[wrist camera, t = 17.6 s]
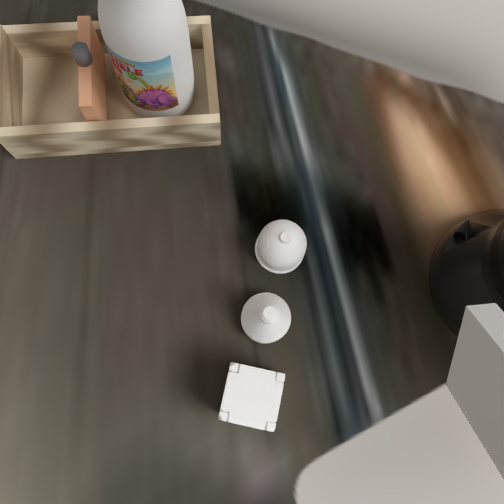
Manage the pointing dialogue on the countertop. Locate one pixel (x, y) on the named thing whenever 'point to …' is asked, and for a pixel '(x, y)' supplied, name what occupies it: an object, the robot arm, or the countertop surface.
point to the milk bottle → (150, 54)
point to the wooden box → (67, 98)
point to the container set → (264, 332)
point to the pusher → (90, 71)
